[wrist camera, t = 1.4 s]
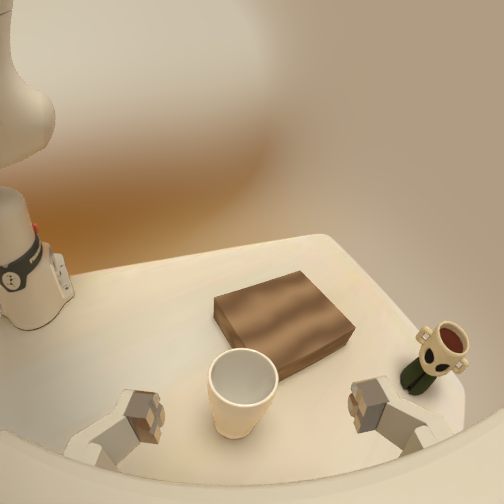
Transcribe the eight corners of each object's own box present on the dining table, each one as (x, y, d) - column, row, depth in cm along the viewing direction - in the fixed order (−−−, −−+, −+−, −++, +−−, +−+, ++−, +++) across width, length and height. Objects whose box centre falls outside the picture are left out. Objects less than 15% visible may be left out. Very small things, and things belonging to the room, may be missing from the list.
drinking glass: (249, 397, 37) (264, 340, 28) (265, 437, 32) (290, 396, 23) (203, 407, 34) (199, 353, 26) (216, 449, 29) (218, 415, 21)
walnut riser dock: (213, 316, 48) (214, 297, 45) (294, 289, 57) (300, 270, 54) (259, 390, 38) (265, 375, 35) (345, 344, 46) (355, 327, 43)
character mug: (383, 375, 41) (421, 328, 33) (401, 353, 45) (436, 306, 37) (424, 411, 34) (471, 371, 27) (439, 386, 38) (481, 344, 31)
